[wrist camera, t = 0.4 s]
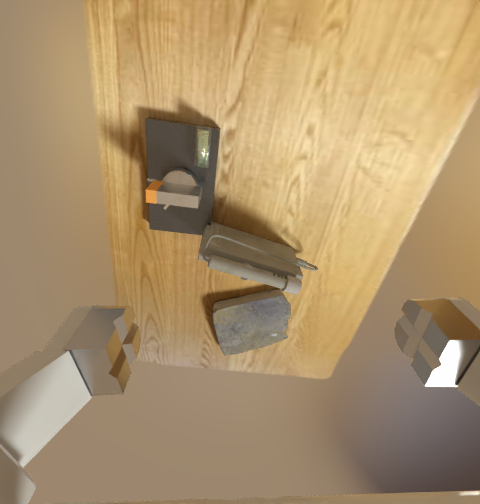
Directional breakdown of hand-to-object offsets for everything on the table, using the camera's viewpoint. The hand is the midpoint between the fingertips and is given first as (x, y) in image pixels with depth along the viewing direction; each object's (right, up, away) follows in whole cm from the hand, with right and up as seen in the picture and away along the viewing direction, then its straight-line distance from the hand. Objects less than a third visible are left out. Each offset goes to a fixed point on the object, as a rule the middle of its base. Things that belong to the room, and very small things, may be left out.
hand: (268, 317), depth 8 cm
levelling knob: (-12, +14, +41) cm, 45 cm away
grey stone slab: (+2, -15, +62) cm, 64 cm away
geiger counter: (+4, +5, +50) cm, 51 cm away
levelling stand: (-12, +15, +43) cm, 47 cm away
